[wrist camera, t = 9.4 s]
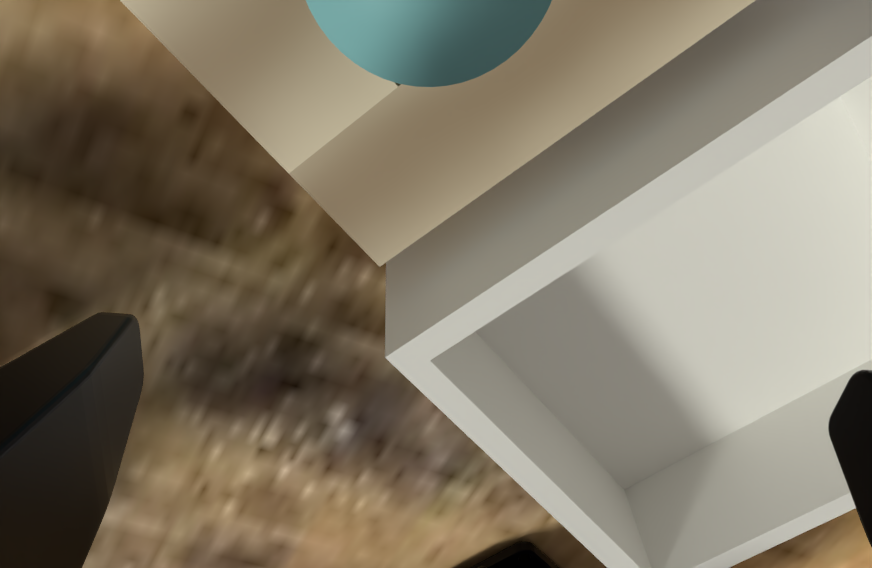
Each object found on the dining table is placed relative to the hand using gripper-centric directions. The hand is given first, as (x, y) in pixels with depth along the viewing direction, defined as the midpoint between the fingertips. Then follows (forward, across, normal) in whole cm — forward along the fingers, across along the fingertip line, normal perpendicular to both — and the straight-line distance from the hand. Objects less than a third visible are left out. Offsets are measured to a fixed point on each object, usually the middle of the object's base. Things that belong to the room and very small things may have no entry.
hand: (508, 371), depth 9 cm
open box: (+13, -8, +6) cm, 16 cm away
